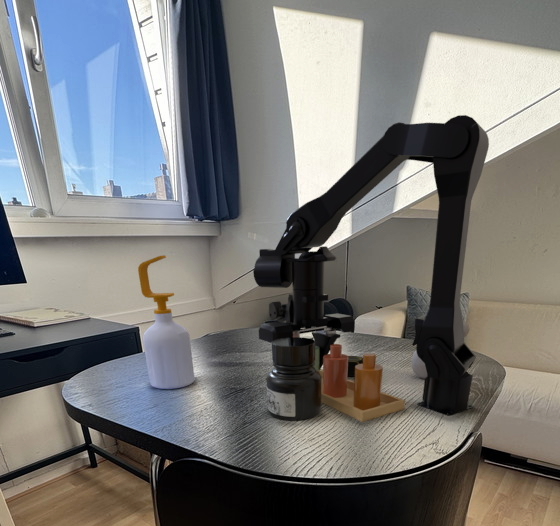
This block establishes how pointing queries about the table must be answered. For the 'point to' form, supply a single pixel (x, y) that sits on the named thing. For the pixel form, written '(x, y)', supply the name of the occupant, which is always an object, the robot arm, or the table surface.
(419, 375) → the perfume bottle
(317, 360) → the sage bottle
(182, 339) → the soap bottle
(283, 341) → the ink bottle
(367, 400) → the amber bottle
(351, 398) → the tray
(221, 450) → the table surface
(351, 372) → the tape measure
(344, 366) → the terracotta bottle
